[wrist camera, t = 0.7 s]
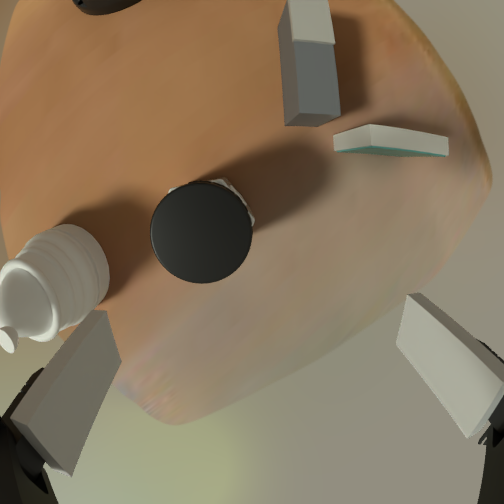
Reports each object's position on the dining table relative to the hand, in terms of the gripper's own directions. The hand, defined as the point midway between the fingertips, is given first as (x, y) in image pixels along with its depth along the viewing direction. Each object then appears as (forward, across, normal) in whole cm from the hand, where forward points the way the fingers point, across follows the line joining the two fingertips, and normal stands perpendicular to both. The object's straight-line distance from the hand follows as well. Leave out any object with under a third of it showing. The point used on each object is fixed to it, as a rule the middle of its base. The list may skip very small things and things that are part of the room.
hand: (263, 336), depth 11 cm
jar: (+24, -4, +1) cm, 24 cm away
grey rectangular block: (+24, +7, +19) cm, 31 cm away
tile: (+24, +16, +10) cm, 30 cm away
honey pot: (+24, -25, -5) cm, 34 cm away
